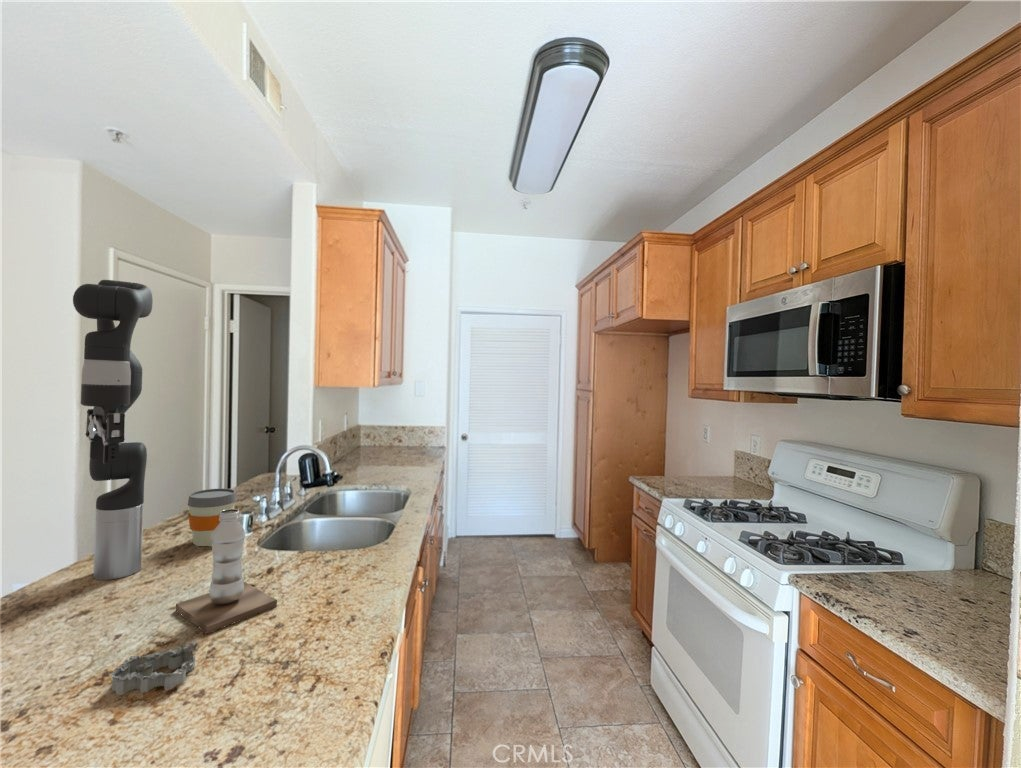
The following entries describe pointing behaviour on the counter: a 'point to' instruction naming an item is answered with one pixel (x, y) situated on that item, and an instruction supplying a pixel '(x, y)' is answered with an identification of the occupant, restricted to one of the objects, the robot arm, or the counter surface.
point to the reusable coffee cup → (208, 512)
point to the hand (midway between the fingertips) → (103, 461)
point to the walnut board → (225, 609)
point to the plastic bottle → (227, 559)
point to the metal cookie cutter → (146, 665)
